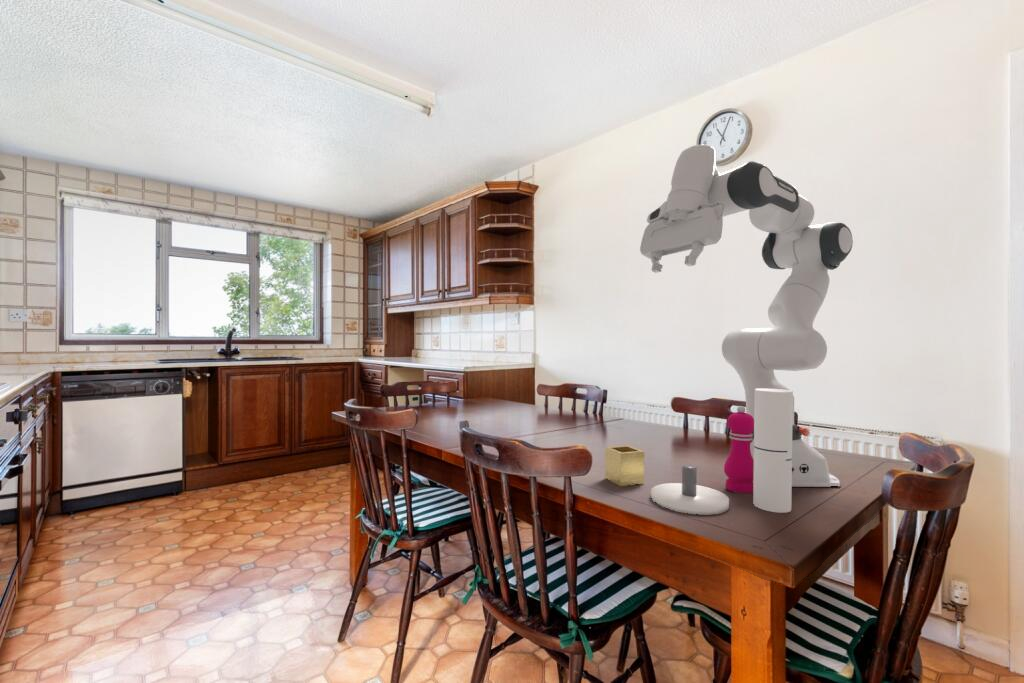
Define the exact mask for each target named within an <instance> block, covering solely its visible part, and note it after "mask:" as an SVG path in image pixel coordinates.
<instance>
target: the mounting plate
mask: <svg viewBox="0 0 1024 683" xmlns="http://www.w3.org/2000/svg"><path fill="white" fill-rule="evenodd" d="M697 470H698V468H697V466H694V465H689V464H687V465H686V464H685V465H682V466H681V482H669V483H668V482H665V483H662V484H656V485H655V486H653V487H652V488H651V490H650V498H652V499H651V501H653V502H654V503H655V502H656V503H657V505H658V504H659V505H661V506H660V507H662V506H663V507H662V508H664V507H665V508H664V509H666V508H668V509H667V510H669V509H670V510H671V511H673V510H674V512H677V513H682V514H687V513H688V514H689V515H696V514H698V515H700V516H710V515H713V514H714V515H719V514H723V513H725V512H727V511H728V510H729V509H730V498H729V497H728V496H727V495H726V494H725V493H723V492H721V491H719V490H718V489H714V488H710V487H708V486H703V485H698V484H697V473H698V471H697ZM656 503H655V504H656ZM659 505H658V506H659ZM698 515H697V516H698Z"/></svg>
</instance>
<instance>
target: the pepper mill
mask: <svg viewBox="0 0 1024 683" xmlns="http://www.w3.org/2000/svg"><path fill="white" fill-rule="evenodd" d="M736 411H737V412H733V413H731V414H730V415H729V416H728V417H727V427H728V428H729V429H730V431H729V439H731V441H730V442H731V448H730V453H729V454H728V457H727V458H726V460H725V462H724V465H723V466H724V468H723V473H724V474H725V476H726V477H727V479H726V480H725V487H726V489H728V490H729V491H731V492H734V493H738V494H753V479H754V460H753V458H752V455H751V451H750V442H751V440H753V438H752V436H753V434H752V433H751V432H752V431H753V430H754V418H753V417H752V416H751V415H750V414H747V413H746V406H743V405H739V406H737V409H736Z"/></svg>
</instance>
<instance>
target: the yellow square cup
mask: <svg viewBox="0 0 1024 683" xmlns="http://www.w3.org/2000/svg"><path fill="white" fill-rule="evenodd" d="M604 466H605V469H604V470H605V471H604V478H606V479H605V480H607V479H608V480H607V481H609V480H610V481H609V482H611V481H612V482H611V483H613V484H614V483H615V484H614V485H616V484H617V485H616V486H618V485H619V486H618V487H620V486H622V487H628V486H627V485H630V486H636V485H635V484H639V485H644V484H645V451H644V450H641V449H639V448H636V447H634V446H631V445H628V444H626V445H617V446H607V447H605V464H604Z"/></svg>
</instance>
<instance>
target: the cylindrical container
mask: <svg viewBox="0 0 1024 683" xmlns="http://www.w3.org/2000/svg"><path fill="white" fill-rule="evenodd" d="M793 396H794V391H793V390H791V389H789V390H784V389H768V388H759V389H755V400H754V479H753V481H752V482H753V493H752V494H753V496H752V504H754V505H753V506H755V507H756V508H757V507H758V508H757V509H760V510H763V511H767V512H769V513H770V512H771V513H772V512H773V513H778V514H779V513H780V514H781V513H783V514H784V513H789V512H791V511H792V491H793V490H792V422H793Z"/></svg>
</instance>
